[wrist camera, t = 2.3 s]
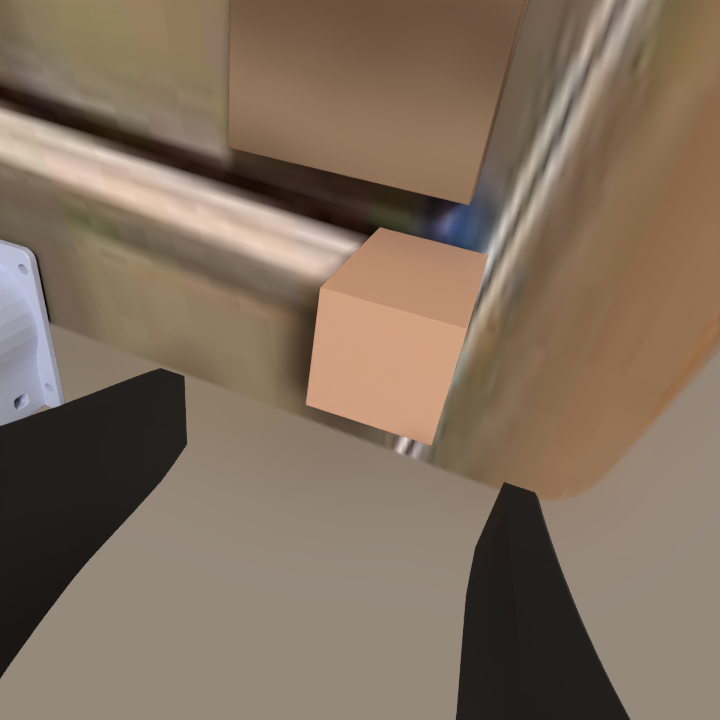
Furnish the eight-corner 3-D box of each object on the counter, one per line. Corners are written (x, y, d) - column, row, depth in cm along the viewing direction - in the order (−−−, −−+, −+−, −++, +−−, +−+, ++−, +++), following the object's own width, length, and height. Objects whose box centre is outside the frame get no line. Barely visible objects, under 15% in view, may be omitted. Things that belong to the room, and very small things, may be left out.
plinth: (475, 191, 17) (468, 205, 15) (257, 139, 18) (228, 147, 17) (566, -136, 12) (569, -166, 11) (270, -171, 14) (233, -203, 12)
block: (458, 350, 20) (431, 445, 15) (362, 322, 21) (305, 404, 16) (488, 254, 18) (467, 329, 13) (379, 227, 18) (320, 287, 13)
